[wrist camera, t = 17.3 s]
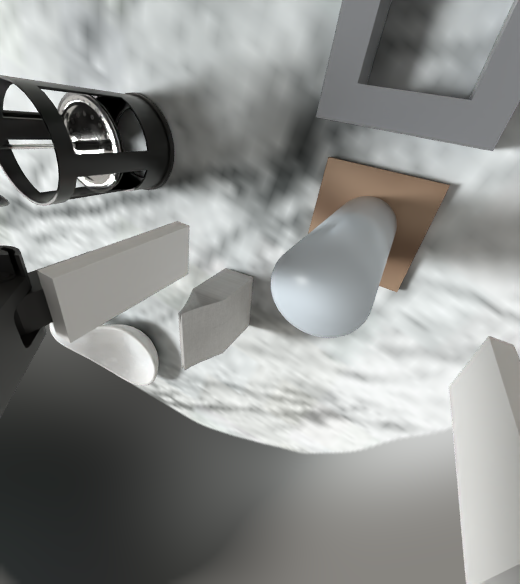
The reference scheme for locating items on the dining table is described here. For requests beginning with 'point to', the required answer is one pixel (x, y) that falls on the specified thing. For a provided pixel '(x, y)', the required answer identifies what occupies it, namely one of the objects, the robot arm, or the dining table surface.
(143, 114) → the french press
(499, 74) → the housing
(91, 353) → the spoon rest
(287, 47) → the dining table surface
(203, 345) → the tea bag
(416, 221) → the pad
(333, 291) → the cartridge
